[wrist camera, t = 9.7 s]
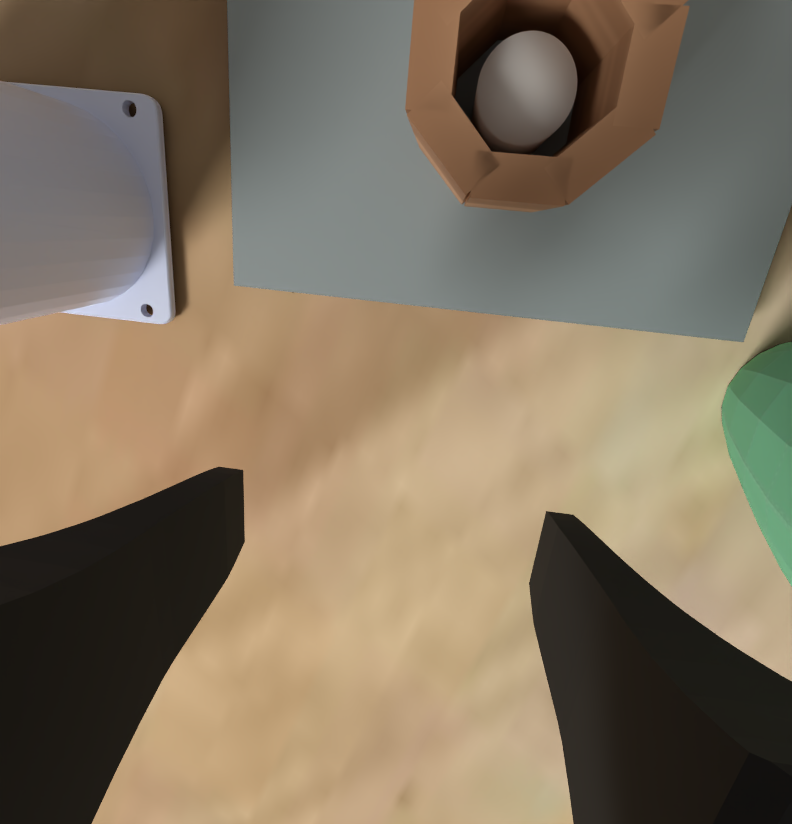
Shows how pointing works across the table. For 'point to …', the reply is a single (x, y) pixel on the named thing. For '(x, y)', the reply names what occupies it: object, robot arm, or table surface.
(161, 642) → the robot arm
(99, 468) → the table surface
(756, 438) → the mug
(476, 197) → the tube
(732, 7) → the post board
